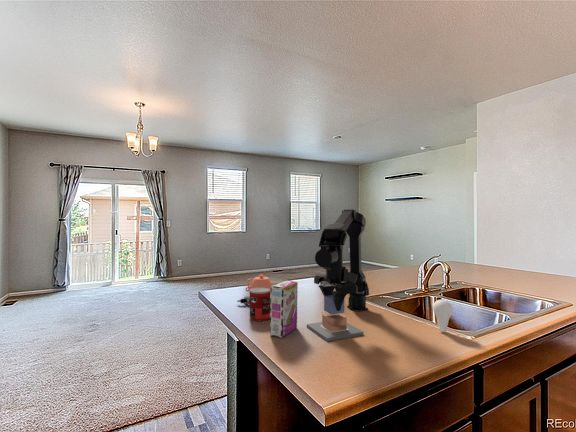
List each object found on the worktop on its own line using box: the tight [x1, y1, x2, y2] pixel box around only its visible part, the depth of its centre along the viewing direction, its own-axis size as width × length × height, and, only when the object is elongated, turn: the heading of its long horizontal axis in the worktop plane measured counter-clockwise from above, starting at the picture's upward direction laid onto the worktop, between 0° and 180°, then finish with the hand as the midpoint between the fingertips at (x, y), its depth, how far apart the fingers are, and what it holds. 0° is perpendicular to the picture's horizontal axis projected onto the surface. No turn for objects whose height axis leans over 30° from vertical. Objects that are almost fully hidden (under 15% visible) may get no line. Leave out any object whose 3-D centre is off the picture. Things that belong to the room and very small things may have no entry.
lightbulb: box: [432, 299, 454, 333], centre depth 105 cm, size 6×6×11 cm
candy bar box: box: [269, 280, 299, 339], centre depth 106 cm, size 11×5×16 cm, turn 152°
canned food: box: [249, 288, 271, 322], centre depth 120 cm, size 8×8×11 cm
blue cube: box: [323, 295, 345, 314], centre depth 107 cm, size 5×5×5 cm
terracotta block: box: [321, 313, 348, 332], centre depth 107 cm, size 6×6×4 cm
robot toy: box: [236, 294, 271, 306], centre depth 138 cm, size 12×4×15 cm
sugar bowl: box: [245, 274, 273, 295], centre depth 155 cm, size 12×14×10 cm
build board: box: [306, 321, 364, 342], centre depth 107 cm, size 14×14×1 cm
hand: (334, 308), depth 107 cm, fingers closed on blue cube, 5 cm apart
